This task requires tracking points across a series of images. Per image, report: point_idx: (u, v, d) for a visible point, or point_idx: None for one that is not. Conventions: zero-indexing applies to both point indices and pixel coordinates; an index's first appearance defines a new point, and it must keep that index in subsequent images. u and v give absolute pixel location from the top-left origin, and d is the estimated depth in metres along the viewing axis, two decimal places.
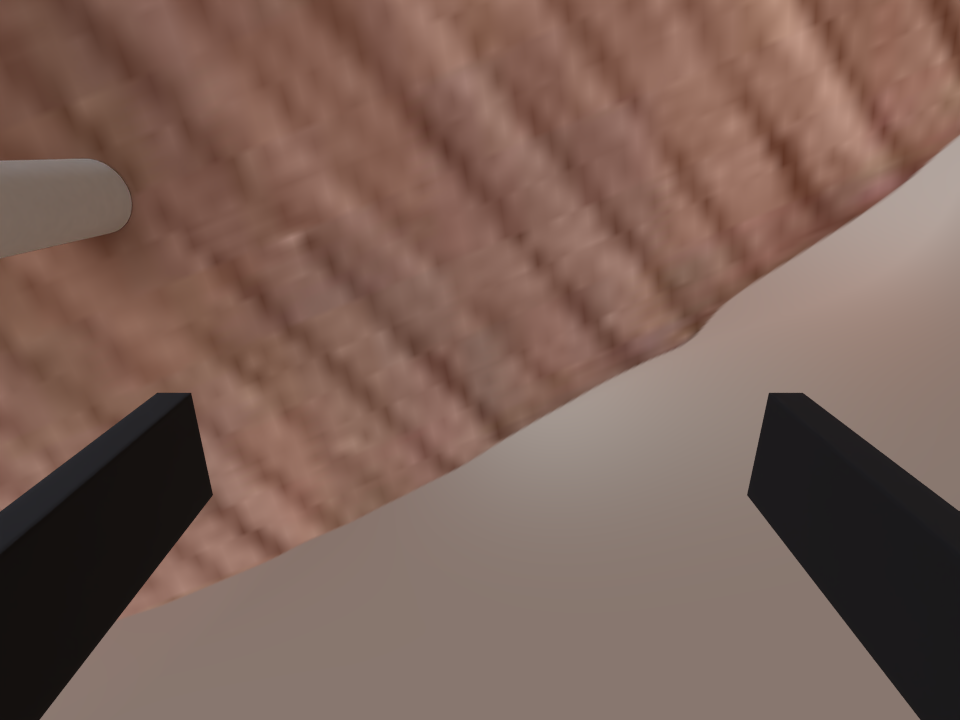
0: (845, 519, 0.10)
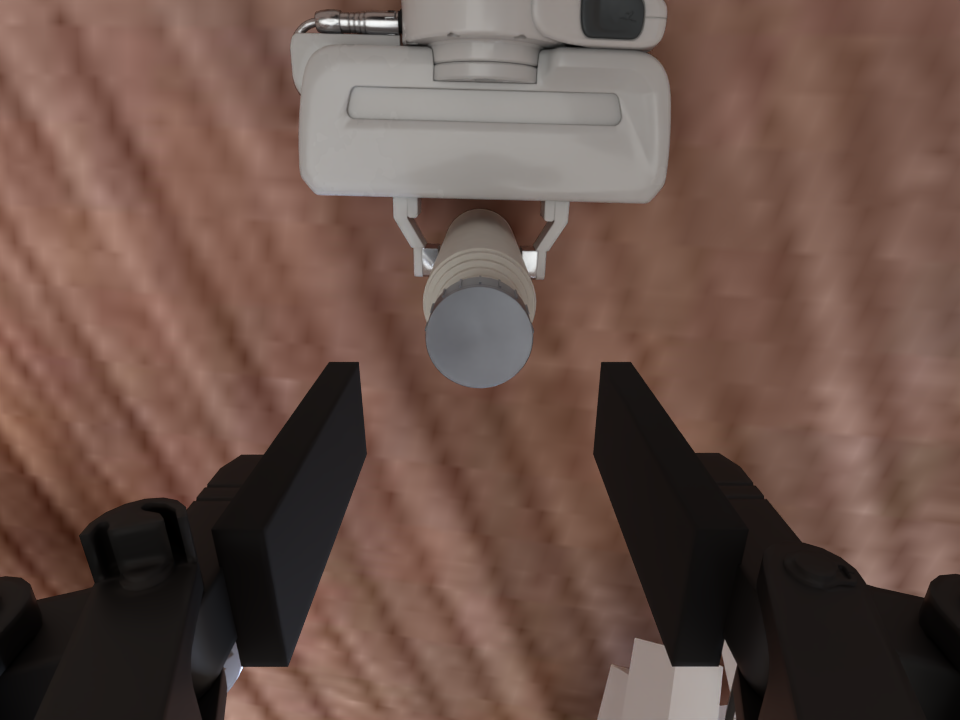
0: (628, 462, 0.11)
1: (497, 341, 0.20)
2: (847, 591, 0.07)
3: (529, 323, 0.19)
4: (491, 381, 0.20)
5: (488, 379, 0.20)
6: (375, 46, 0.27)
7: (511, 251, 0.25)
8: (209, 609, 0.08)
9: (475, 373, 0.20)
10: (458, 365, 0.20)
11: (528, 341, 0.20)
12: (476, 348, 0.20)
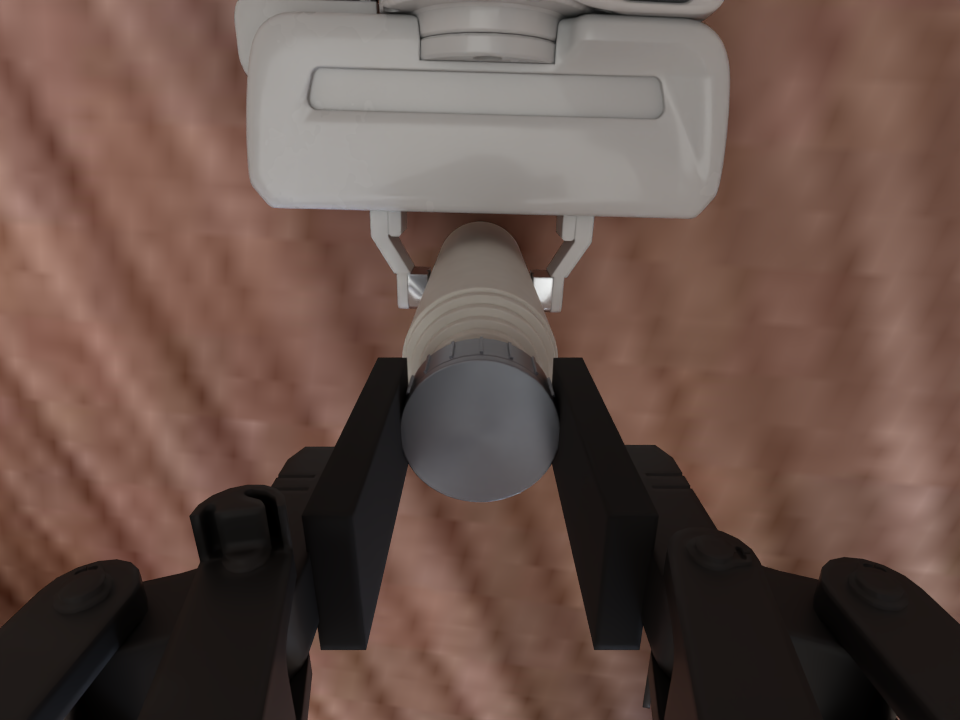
0: (568, 454, 0.12)
1: (507, 438, 0.13)
2: (743, 571, 0.07)
3: (555, 413, 0.13)
4: (497, 493, 0.14)
5: (493, 490, 0.14)
6: (343, 14, 0.21)
7: (523, 288, 0.18)
8: (301, 596, 0.08)
9: (474, 482, 0.14)
10: (448, 471, 0.13)
11: (553, 438, 0.13)
12: (475, 448, 0.13)
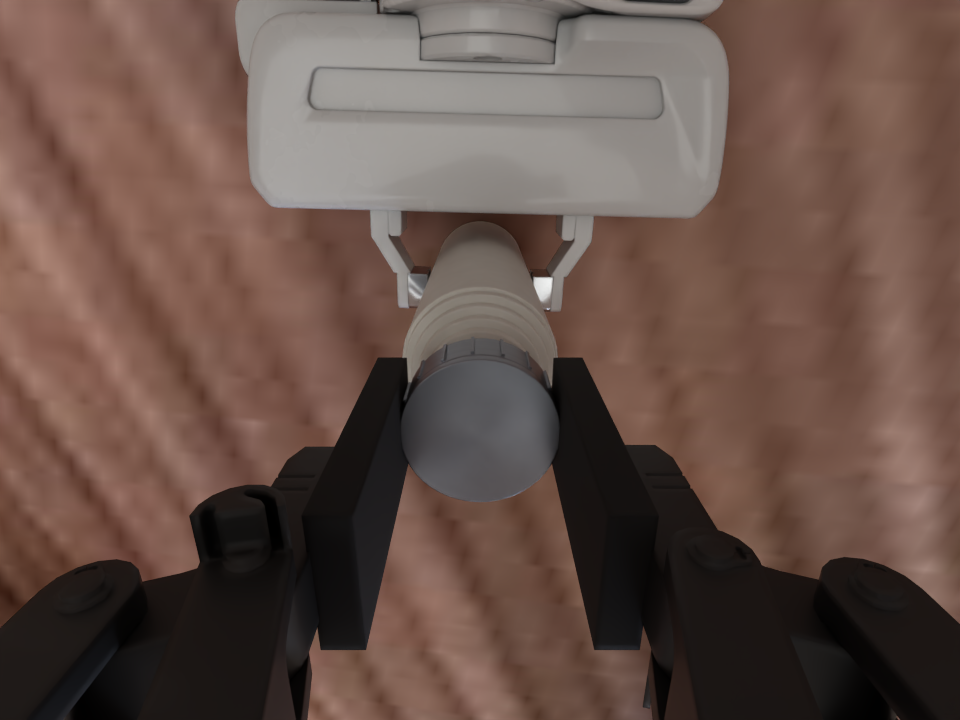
0: (569, 454, 0.12)
1: (483, 410, 0.13)
2: (743, 571, 0.07)
3: (452, 366, 0.12)
4: (549, 417, 0.13)
5: (546, 421, 0.13)
6: (343, 14, 0.21)
7: (523, 287, 0.18)
8: (300, 596, 0.08)
9: (535, 439, 0.13)
10: (522, 461, 0.13)
11: (483, 365, 0.12)
12: (495, 438, 0.13)
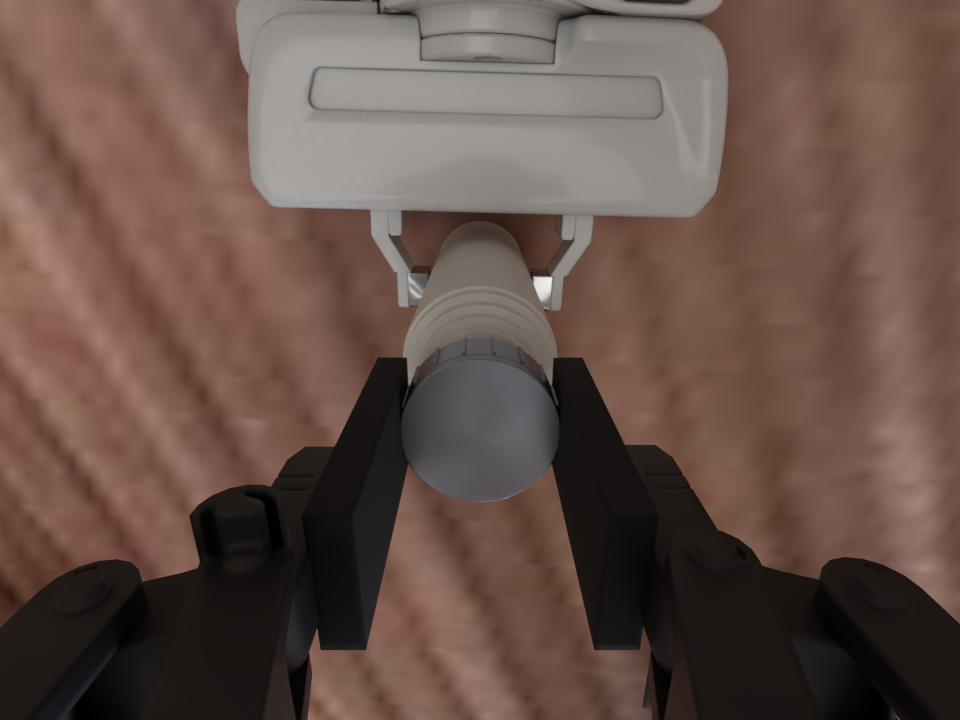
0: (569, 454, 0.12)
1: (452, 432, 0.13)
2: (743, 571, 0.07)
3: (407, 459, 0.13)
4: (458, 371, 0.12)
5: (463, 375, 0.12)
6: (344, 14, 0.21)
7: (523, 287, 0.18)
8: (300, 596, 0.08)
9: (484, 383, 0.13)
10: (511, 395, 0.13)
11: (406, 432, 0.13)
12: (484, 420, 0.13)
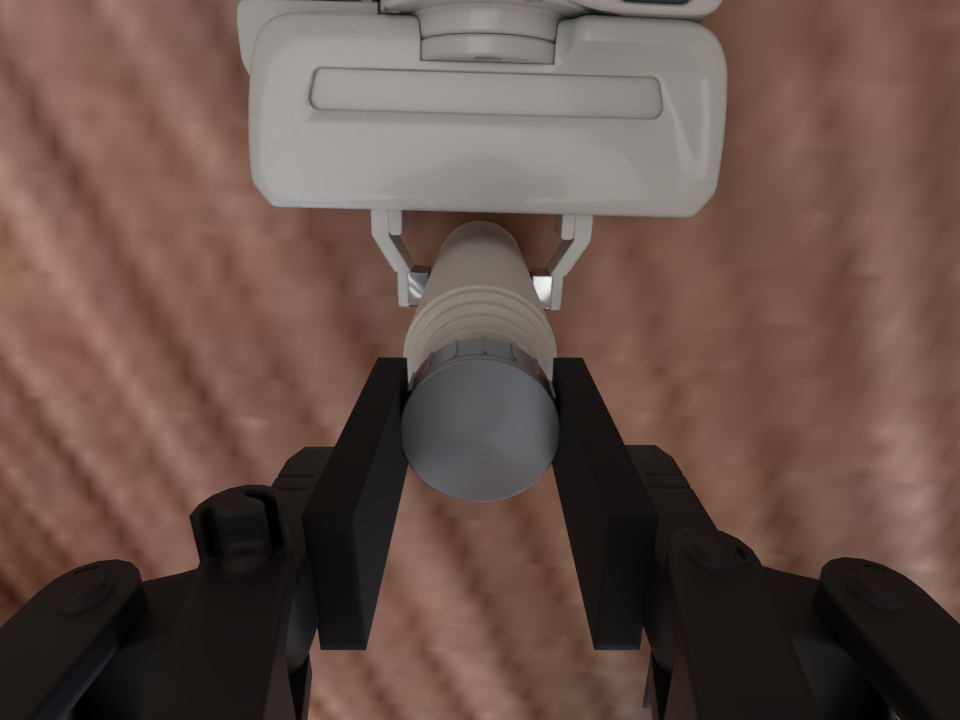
0: (569, 454, 0.12)
1: (477, 458, 0.13)
2: (743, 571, 0.07)
3: (507, 496, 0.14)
4: (413, 454, 0.13)
5: (416, 450, 0.13)
6: (344, 15, 0.21)
7: (522, 286, 0.18)
8: (300, 596, 0.08)
9: (423, 431, 0.13)
10: (435, 407, 0.13)
11: (479, 496, 0.14)
12: (464, 431, 0.13)
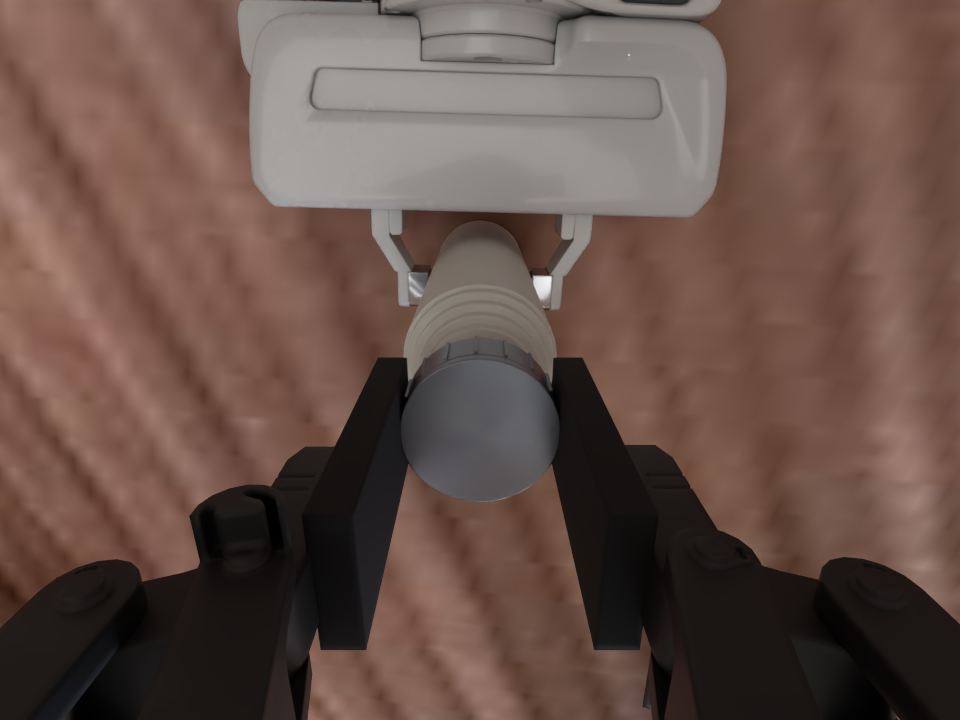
0: (569, 454, 0.12)
1: (507, 436, 0.13)
2: (743, 572, 0.07)
3: (554, 408, 0.13)
4: (502, 491, 0.14)
5: (497, 489, 0.14)
6: (345, 15, 0.21)
7: (522, 285, 0.19)
8: (300, 596, 0.08)
9: (477, 482, 0.14)
10: (451, 472, 0.13)
11: (554, 433, 0.13)
12: (476, 448, 0.13)
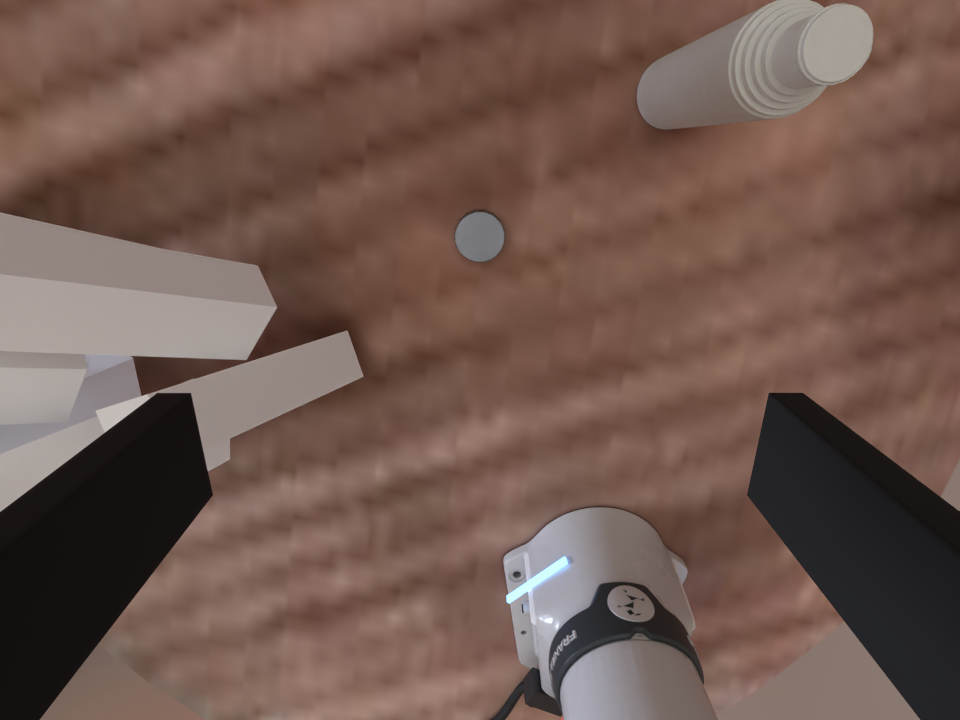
0: (845, 519, 0.10)
1: (480, 228, 0.42)
2: None
3: (470, 214, 0.42)
4: (500, 229, 0.42)
5: (499, 231, 0.42)
6: None
7: None
8: None
9: (497, 237, 0.42)
10: (493, 246, 0.43)
11: (479, 214, 0.42)
12: (484, 238, 0.42)
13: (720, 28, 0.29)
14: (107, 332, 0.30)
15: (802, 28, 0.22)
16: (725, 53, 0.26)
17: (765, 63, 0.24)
